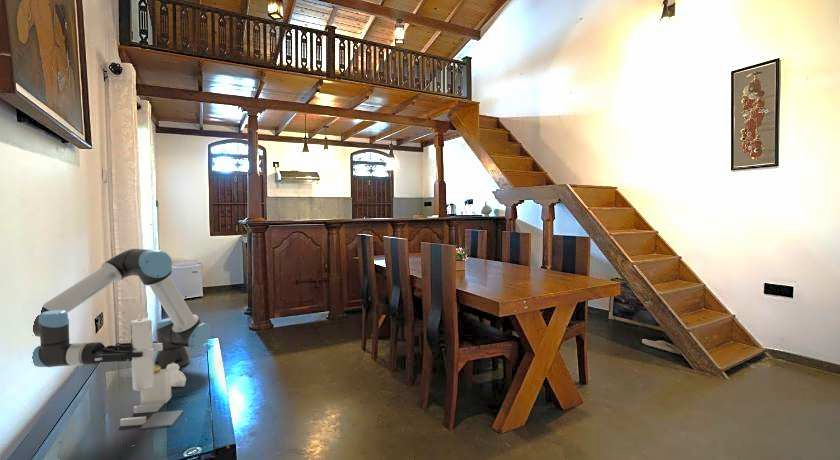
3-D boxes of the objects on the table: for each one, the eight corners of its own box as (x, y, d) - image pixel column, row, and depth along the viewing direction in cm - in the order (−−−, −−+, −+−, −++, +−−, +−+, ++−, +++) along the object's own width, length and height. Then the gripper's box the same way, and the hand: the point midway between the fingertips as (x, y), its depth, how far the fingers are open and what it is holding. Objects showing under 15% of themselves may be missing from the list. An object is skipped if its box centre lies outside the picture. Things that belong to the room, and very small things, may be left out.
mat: (154, 414, 150) (154, 412, 150) (183, 411, 151) (183, 410, 151) (140, 428, 140) (140, 427, 140) (171, 425, 142) (171, 424, 142)
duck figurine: (174, 385, 178) (154, 370, 173) (188, 371, 182) (170, 356, 177) (179, 395, 169) (159, 379, 164) (194, 380, 173) (175, 364, 168)
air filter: (143, 391, 141) (139, 322, 140) (128, 389, 143) (124, 321, 141) (158, 383, 148) (155, 317, 146) (144, 382, 149) (141, 316, 147)
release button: (152, 373, 161) (152, 365, 160) (162, 373, 161) (162, 365, 161) (148, 377, 157) (147, 369, 157) (158, 376, 158) (157, 368, 157)
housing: (147, 399, 161) (146, 370, 161) (171, 397, 163) (170, 368, 162) (118, 426, 141) (117, 393, 141) (146, 424, 143) (145, 391, 142)
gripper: (103, 354, 151) (170, 350, 154) (68, 374, 132) (144, 370, 136) (102, 335, 150) (169, 331, 154) (67, 352, 132) (144, 348, 136)
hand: (157, 349), depth 145 cm, fingers closed on air filter, 6 cm apart
